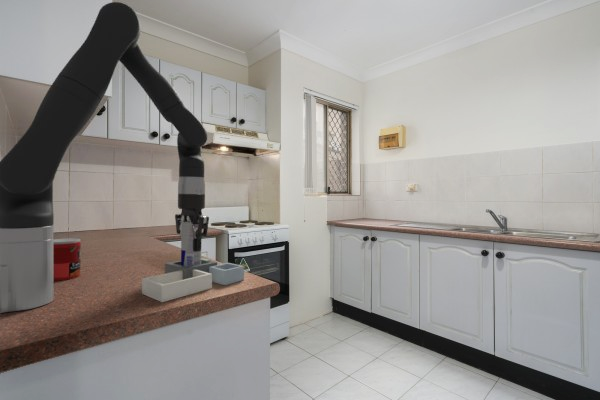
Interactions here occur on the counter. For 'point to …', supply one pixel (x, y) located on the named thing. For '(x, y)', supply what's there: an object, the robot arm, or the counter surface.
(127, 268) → the counter surface
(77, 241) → the canned food
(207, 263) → the dark grey square bin
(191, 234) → the upright juice carton
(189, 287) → the trough
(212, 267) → the blue-grey square bin
